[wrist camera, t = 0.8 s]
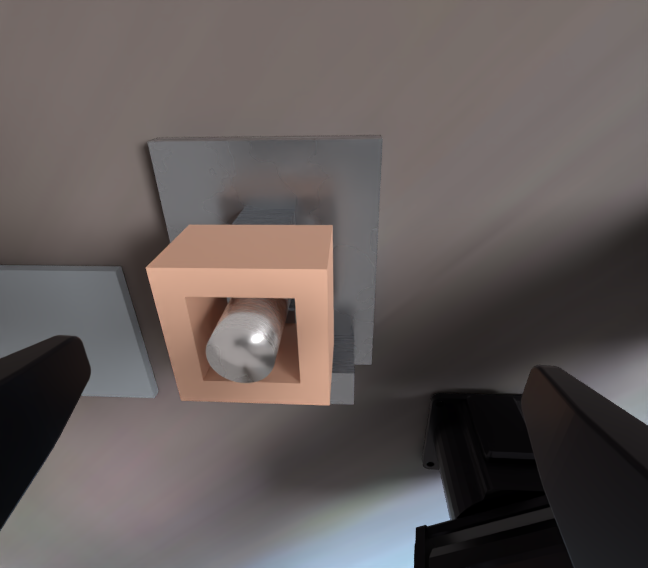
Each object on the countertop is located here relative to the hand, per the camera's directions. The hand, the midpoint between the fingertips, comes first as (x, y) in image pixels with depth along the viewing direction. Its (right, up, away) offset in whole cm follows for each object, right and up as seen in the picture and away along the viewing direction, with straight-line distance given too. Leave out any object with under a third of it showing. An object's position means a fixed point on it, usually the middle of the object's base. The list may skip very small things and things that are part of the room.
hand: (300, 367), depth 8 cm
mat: (-15, -1, +16) cm, 22 cm away
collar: (-2, +1, +10) cm, 10 cm away
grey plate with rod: (-2, +3, +13) cm, 13 cm away
